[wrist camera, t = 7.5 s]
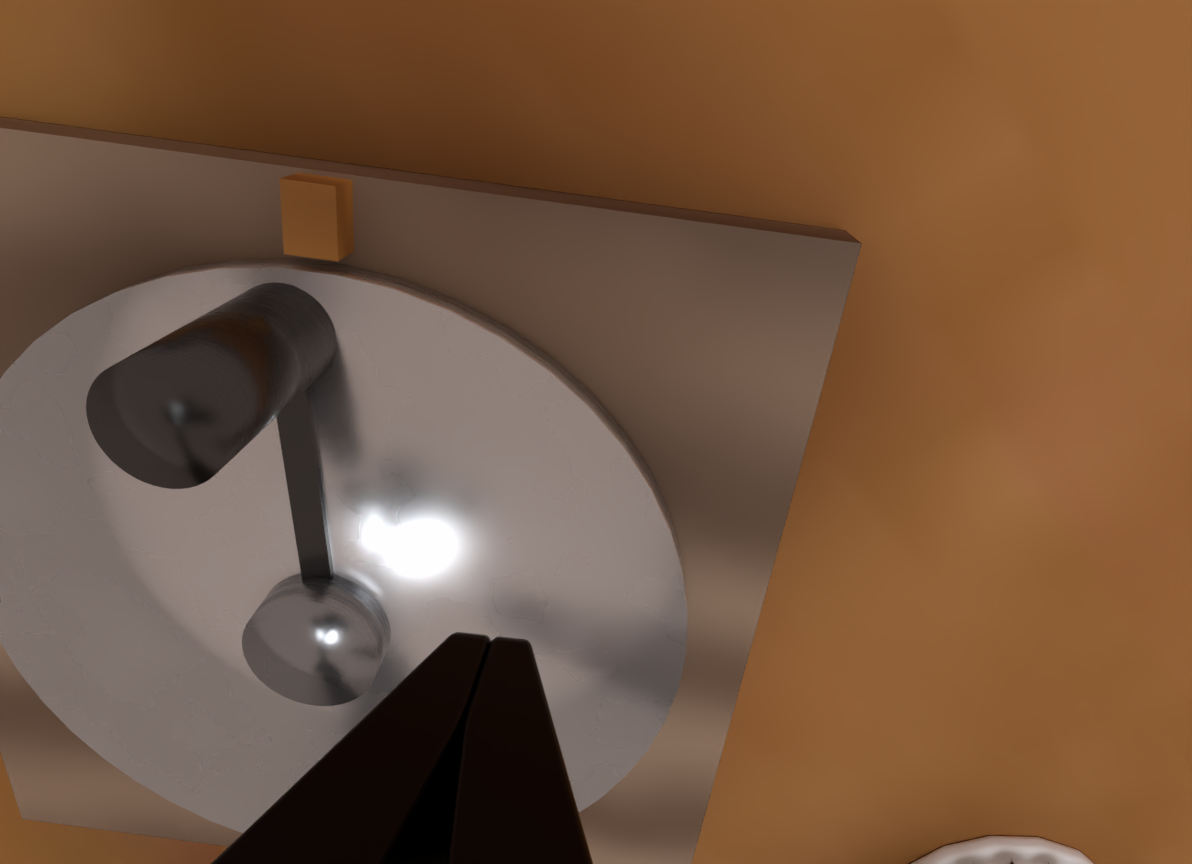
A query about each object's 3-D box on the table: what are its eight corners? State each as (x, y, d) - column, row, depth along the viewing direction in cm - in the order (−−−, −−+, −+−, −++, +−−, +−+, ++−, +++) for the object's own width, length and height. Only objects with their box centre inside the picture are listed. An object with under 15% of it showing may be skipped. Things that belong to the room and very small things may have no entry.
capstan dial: (656, 855, 26) (660, 1062, 20) (91, 808, 27) (-51, 996, 21) (725, 283, 17) (763, 382, 12) (-121, 234, 18) (-455, 306, 12)
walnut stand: (677, 867, 29) (680, 935, 26) (51, 783, 29) (0, 844, 26) (845, 230, 18) (874, 253, 16) (-147, 97, 18) (-260, 101, 16)
